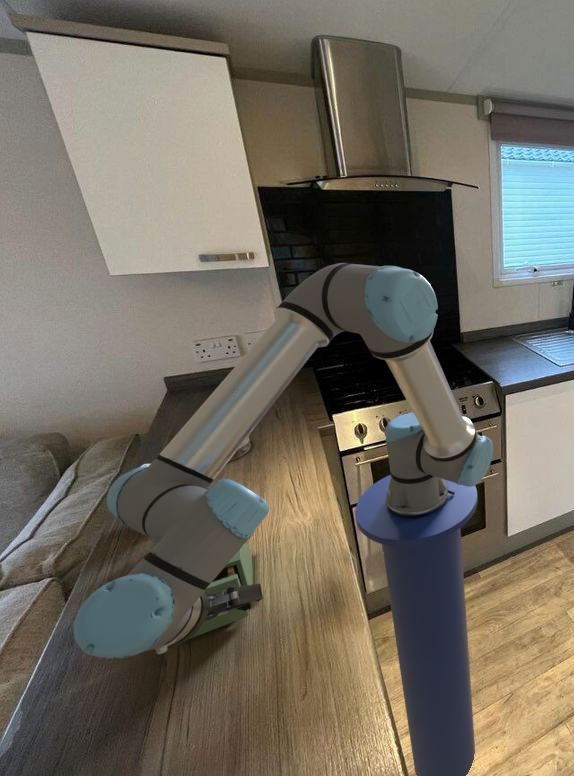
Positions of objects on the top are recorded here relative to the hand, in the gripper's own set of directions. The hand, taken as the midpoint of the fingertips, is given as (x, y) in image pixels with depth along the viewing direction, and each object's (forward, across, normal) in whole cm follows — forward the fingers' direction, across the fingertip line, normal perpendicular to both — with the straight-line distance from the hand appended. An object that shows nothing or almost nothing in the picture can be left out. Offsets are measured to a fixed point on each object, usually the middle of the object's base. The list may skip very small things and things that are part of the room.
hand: (206, 615), depth 74 cm
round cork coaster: (+56, -2, +48) cm, 74 cm away
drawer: (+6, 0, 0) cm, 6 cm away
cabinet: (+12, 0, +4) cm, 12 cm away
